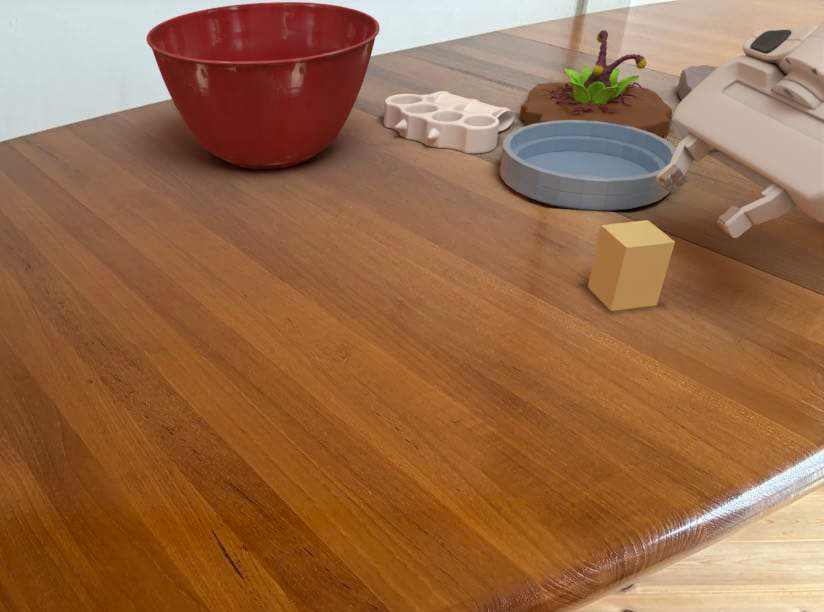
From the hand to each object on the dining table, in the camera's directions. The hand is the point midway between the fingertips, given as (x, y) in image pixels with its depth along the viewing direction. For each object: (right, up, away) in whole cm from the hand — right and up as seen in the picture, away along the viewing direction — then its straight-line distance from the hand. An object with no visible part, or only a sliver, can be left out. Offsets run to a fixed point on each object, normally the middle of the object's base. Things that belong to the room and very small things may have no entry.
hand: (692, 207), depth 71 cm
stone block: (+27, +26, +48) cm, 61 cm away
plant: (+8, +23, +45) cm, 51 cm away
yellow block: (-4, -8, +5) cm, 10 cm away
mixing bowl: (-38, +17, +38) cm, 56 cm away
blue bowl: (+1, +10, +27) cm, 29 cm away
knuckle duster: (-13, +20, +42) cm, 49 cm away
